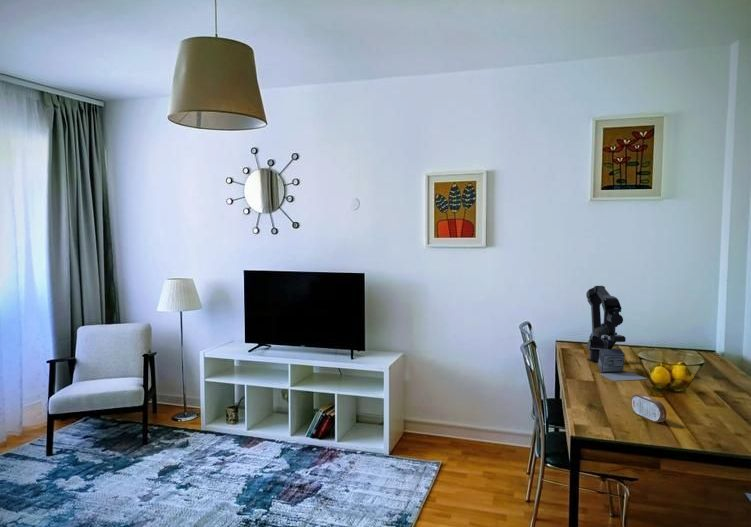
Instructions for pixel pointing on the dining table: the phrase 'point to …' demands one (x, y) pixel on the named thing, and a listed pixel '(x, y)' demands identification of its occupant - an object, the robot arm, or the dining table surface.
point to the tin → (648, 408)
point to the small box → (611, 360)
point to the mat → (623, 376)
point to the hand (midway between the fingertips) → (608, 352)
